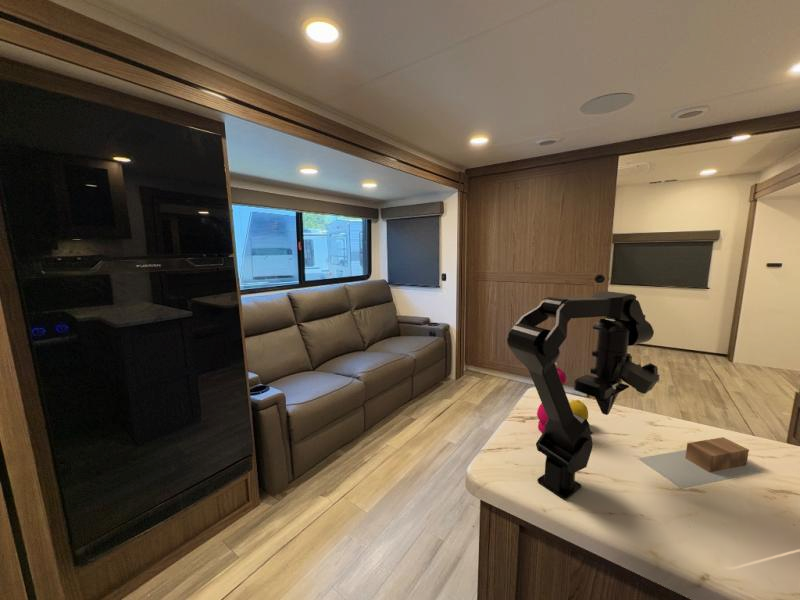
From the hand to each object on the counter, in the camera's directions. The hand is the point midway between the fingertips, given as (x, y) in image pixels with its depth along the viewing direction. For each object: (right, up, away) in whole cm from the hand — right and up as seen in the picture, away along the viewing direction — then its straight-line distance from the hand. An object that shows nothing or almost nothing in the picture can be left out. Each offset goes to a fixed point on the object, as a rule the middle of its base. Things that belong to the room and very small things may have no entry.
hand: (605, 413), depth 73 cm
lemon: (+3, -10, +18) cm, 21 cm away
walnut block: (+22, -10, +1) cm, 24 cm away
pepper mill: (-5, -11, +17) cm, 20 cm away
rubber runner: (+23, -13, +1) cm, 26 cm away
